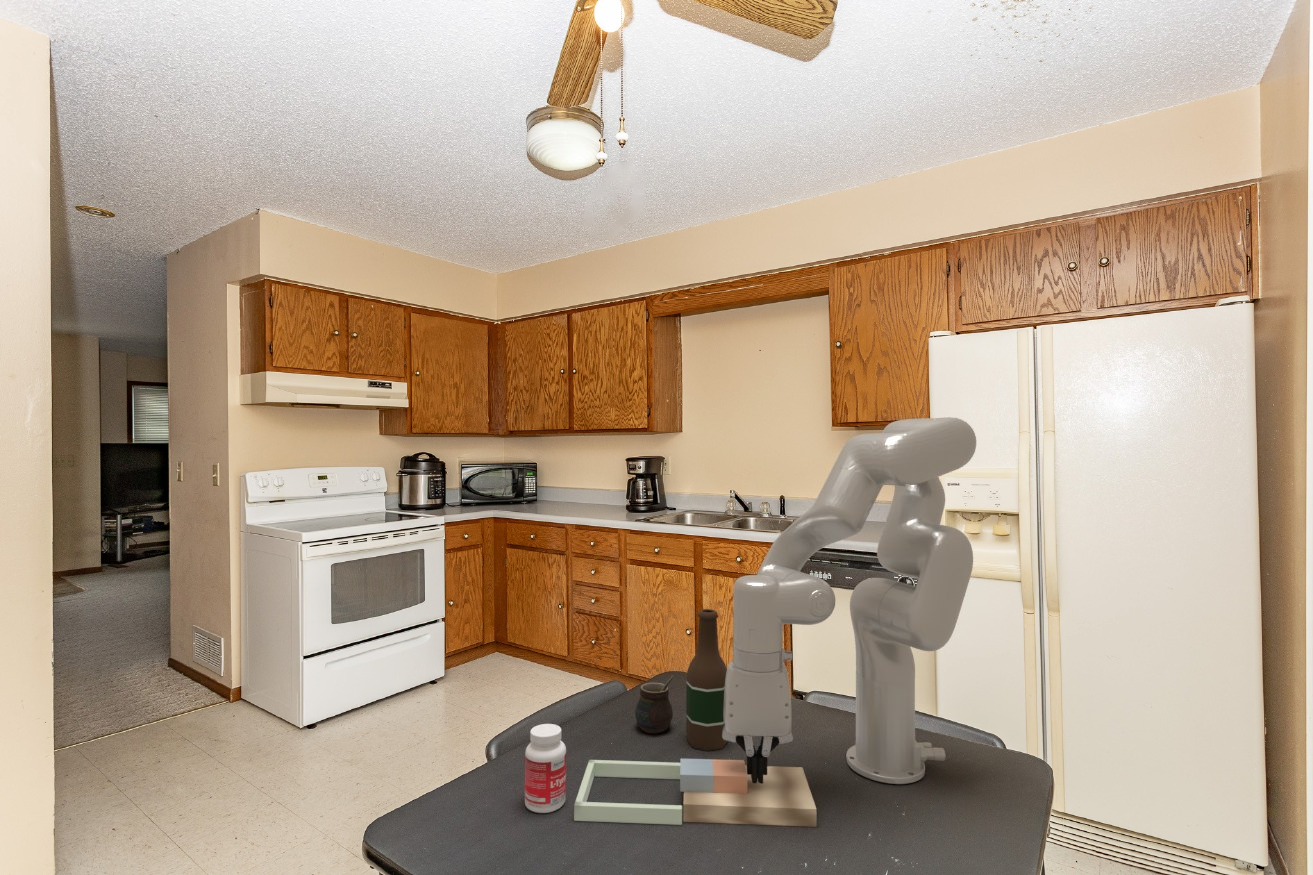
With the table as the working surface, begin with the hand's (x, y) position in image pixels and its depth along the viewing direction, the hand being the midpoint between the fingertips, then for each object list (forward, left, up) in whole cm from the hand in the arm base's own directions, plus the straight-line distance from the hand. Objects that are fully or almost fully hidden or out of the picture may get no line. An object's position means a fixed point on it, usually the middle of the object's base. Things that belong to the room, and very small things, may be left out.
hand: (756, 778), depth 98 cm
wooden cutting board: (+2, 0, -4) cm, 4 cm away
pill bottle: (+32, +2, -4) cm, 32 cm away
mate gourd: (+17, -25, -4) cm, 30 cm away
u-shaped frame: (+19, 0, -4) cm, 19 cm away
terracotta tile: (+4, 0, -1) cm, 4 cm away
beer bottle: (+7, -20, -4) cm, 21 cm away
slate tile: (+9, 0, -1) cm, 9 cm away
